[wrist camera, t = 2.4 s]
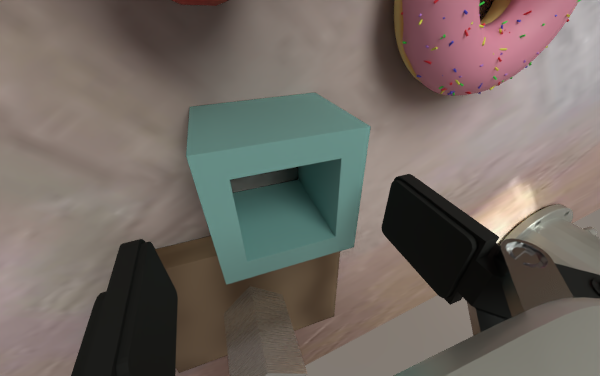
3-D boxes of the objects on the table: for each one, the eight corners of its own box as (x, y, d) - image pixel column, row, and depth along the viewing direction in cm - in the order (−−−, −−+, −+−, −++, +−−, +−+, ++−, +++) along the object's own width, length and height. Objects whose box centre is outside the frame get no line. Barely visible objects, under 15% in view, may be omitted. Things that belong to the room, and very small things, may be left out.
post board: (331, 206, 20) (392, 290, 14) (326, 299, 28) (364, 381, 21) (122, 257, 16) (76, 404, 10) (180, 349, 24) (174, 468, 18)
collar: (315, 92, 15) (370, 126, 10) (314, 189, 19) (353, 246, 14) (189, 106, 13) (186, 156, 8) (217, 211, 17) (226, 284, 12)
